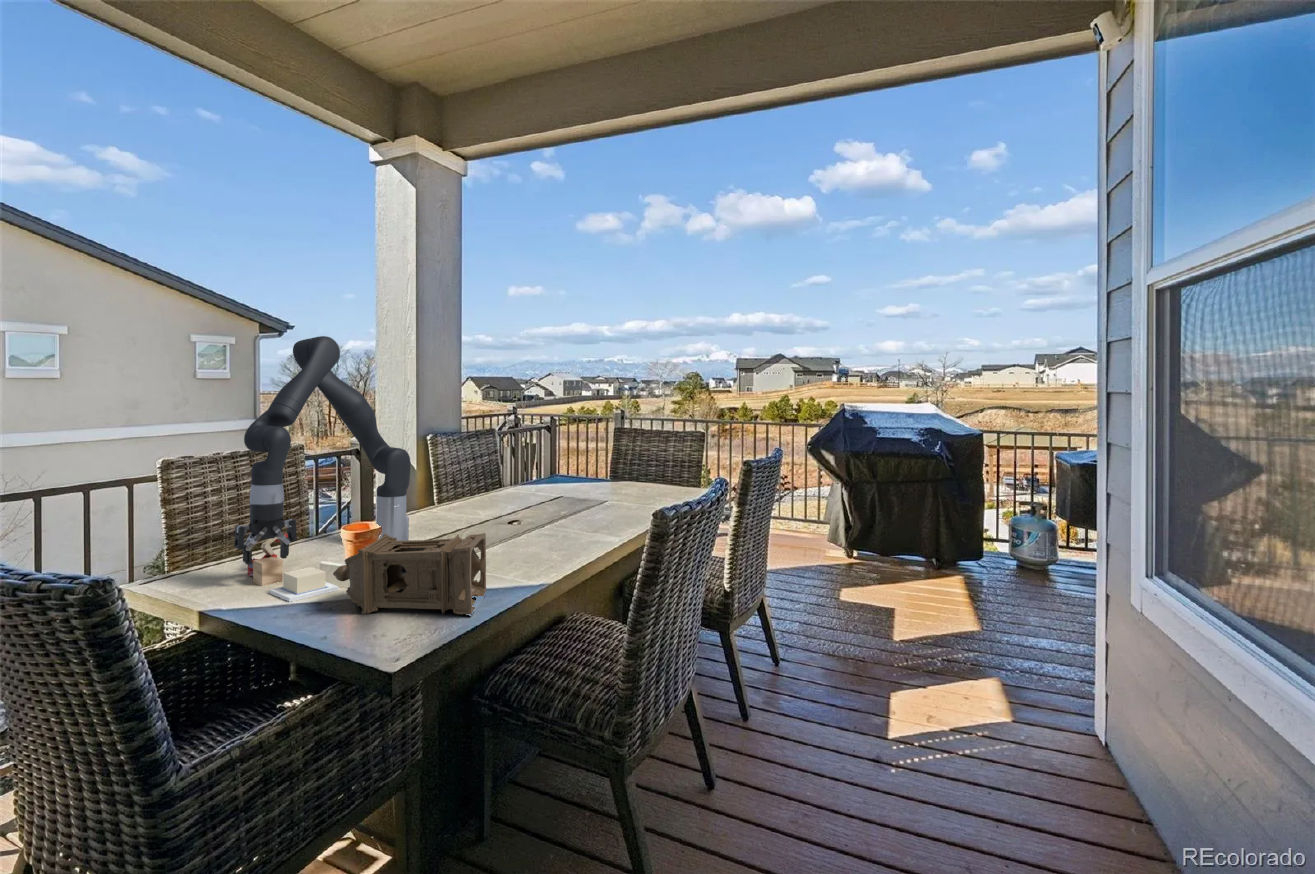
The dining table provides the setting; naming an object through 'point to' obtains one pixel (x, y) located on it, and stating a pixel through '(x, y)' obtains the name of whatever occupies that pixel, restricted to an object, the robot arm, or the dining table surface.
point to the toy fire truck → (267, 550)
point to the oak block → (267, 571)
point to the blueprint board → (302, 596)
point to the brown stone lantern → (417, 574)
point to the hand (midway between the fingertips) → (266, 561)
